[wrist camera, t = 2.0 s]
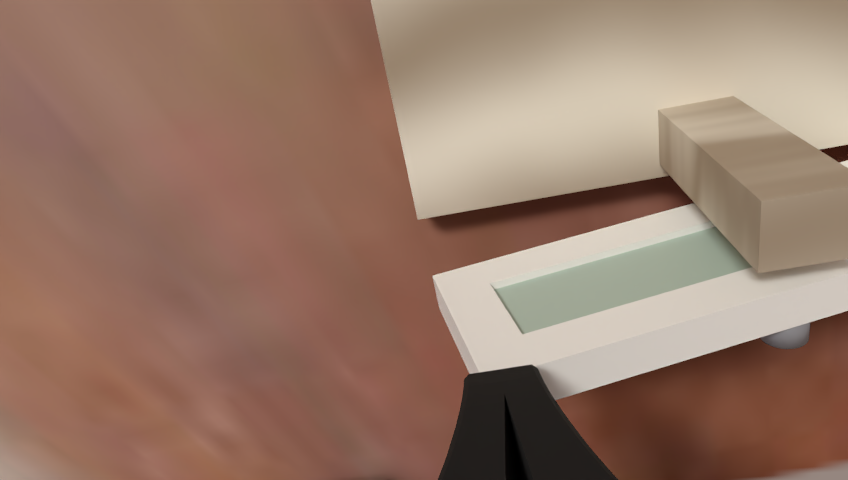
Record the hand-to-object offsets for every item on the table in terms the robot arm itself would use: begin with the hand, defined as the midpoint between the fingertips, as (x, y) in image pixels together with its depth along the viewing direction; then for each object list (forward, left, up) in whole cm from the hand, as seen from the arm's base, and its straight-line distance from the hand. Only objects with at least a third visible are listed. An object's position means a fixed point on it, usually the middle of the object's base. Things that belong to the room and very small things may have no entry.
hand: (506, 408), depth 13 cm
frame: (0, -6, -6) cm, 8 cm away
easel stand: (+5, -6, -9) cm, 12 cm away
